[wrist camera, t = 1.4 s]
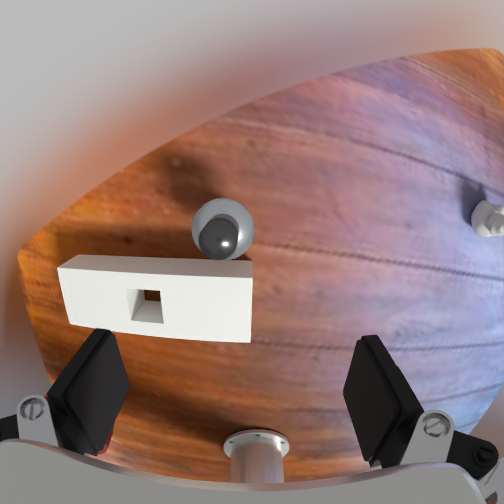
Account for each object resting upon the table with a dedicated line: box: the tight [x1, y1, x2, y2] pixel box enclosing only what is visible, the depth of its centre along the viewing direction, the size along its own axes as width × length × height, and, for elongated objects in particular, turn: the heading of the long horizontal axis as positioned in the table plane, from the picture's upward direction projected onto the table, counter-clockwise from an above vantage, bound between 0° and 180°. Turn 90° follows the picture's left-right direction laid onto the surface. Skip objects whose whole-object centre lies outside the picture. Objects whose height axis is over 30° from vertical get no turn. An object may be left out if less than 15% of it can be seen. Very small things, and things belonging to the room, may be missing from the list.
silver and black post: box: [192, 198, 254, 260], centre depth 28 cm, size 6×6×10 cm
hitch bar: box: [57, 254, 253, 343], centre depth 33 cm, size 8×24×5 cm, turn 88°
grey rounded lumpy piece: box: [471, 201, 504, 237], centre depth 28 cm, size 5×7×8 cm
